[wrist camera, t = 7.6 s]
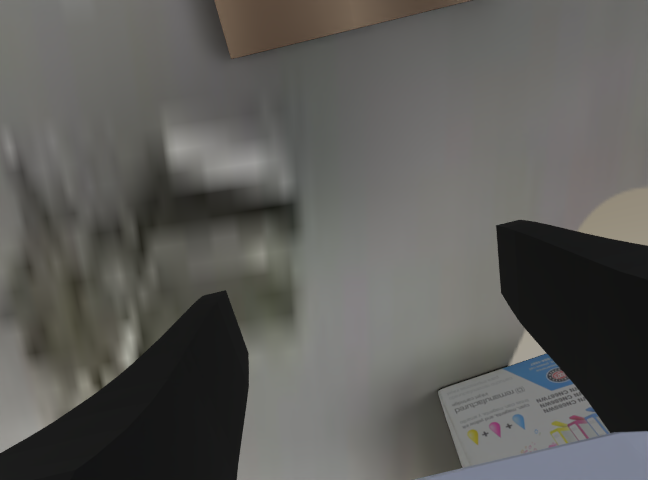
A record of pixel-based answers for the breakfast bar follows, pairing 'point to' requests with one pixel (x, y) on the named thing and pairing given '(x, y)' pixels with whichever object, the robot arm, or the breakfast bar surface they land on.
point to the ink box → (517, 412)
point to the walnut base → (306, 19)
